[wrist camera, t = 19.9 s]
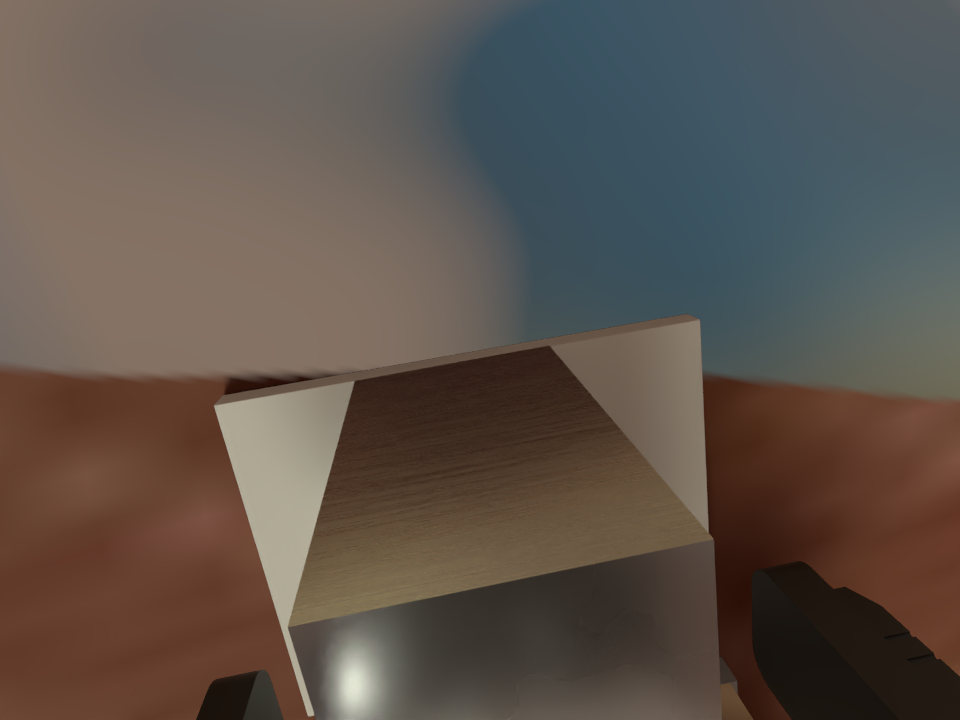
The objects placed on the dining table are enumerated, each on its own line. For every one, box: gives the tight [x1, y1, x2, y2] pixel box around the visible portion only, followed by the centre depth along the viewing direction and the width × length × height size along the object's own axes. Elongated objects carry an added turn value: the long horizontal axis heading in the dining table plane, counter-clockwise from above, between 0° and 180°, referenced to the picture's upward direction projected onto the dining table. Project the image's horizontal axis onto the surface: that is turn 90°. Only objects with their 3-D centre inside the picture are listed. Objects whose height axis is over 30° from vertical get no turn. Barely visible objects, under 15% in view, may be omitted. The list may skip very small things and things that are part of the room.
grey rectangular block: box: [288, 346, 722, 720], centre depth 10 cm, size 4×8×7 cm, turn 9°
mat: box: [214, 314, 709, 717], centre depth 14 cm, size 10×8×1 cm
